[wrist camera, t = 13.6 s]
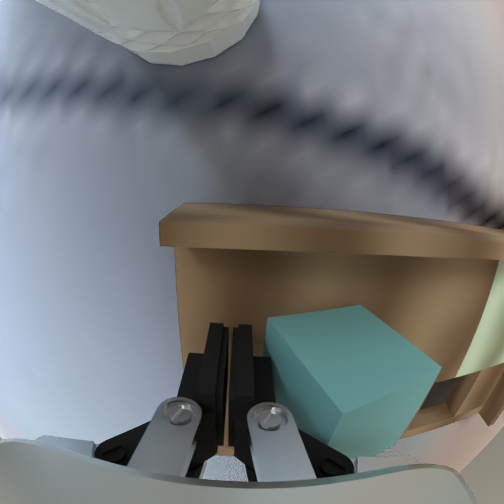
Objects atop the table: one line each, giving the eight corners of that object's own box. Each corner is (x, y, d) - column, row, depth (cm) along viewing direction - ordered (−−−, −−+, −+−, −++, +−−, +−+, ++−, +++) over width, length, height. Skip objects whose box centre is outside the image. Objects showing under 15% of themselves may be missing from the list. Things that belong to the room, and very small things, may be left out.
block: (255, 399, 12) (304, 486, 8) (267, 317, 11) (342, 413, 6) (337, 379, 14) (394, 444, 9) (360, 304, 12) (441, 367, 8)
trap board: (199, 432, 18) (193, 476, 14) (184, 202, 13) (158, 222, 9) (474, 397, 18) (493, 423, 15) (537, 235, 13) (572, 252, 10)
